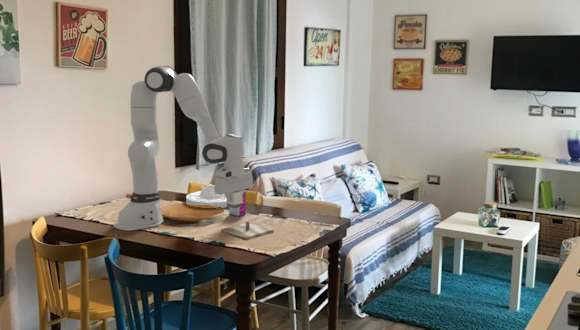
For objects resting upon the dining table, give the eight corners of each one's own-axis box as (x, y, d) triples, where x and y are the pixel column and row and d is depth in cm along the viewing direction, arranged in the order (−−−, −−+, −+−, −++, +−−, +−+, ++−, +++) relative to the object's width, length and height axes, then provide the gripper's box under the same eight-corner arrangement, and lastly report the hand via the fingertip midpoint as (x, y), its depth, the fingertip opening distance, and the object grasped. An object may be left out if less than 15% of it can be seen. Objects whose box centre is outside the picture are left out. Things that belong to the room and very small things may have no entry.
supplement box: (238, 217, 296) (237, 193, 294) (228, 215, 299) (228, 191, 297) (246, 214, 300) (246, 191, 298) (237, 212, 304) (236, 189, 302)
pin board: (246, 239, 262) (246, 229, 261) (221, 231, 273) (221, 221, 272) (273, 231, 273) (273, 221, 272) (249, 224, 284) (249, 214, 283)
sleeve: (234, 208, 279) (233, 193, 278) (226, 206, 283) (226, 191, 282) (242, 206, 283) (242, 191, 282) (235, 204, 286) (235, 189, 285)
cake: (220, 212, 306) (219, 192, 304) (174, 205, 319) (174, 186, 318) (251, 199, 330) (251, 181, 328) (208, 193, 343) (207, 176, 342)
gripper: (246, 166, 289) (247, 195, 292) (211, 172, 275) (212, 203, 278) (256, 168, 285) (256, 197, 288) (221, 174, 271) (221, 206, 273)
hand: (234, 200), depth 282 cm, fingers closed on sleeve, 5 cm apart
